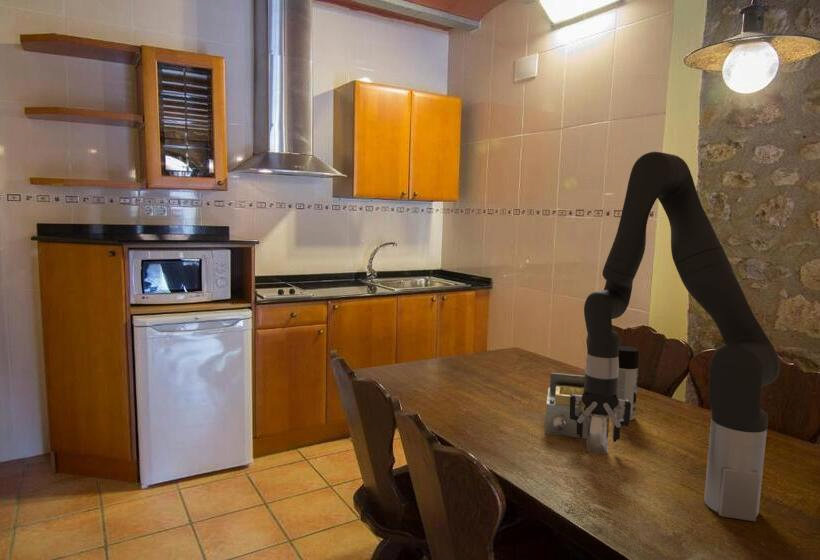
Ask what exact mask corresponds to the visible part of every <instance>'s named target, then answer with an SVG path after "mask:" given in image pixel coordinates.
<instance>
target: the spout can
mask: <svg viewBox="0 0 820 560" xmlns="http://www.w3.org/2000/svg"><path fill="white" fill-rule="evenodd" d="M610 419H611V418H610V416H609V414H608V415H601V414H593V413H590V414H589V415H588V432H587V439H586V451H588V452H589V453H592V454H596V455H606V454H607V453H608V446H609V431H610Z"/></svg>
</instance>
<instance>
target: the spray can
mask: <svg viewBox="0 0 820 560" xmlns="http://www.w3.org/2000/svg"><path fill="white" fill-rule="evenodd" d="M639 359H640V350H639V349H638V348H637V347H634V346H626V345H619V355H618V360H619V373H618V388H617V397H618V399H622V400H625V399H629V400H630V402H631V410H630V421H633V420H635V417H636V409H637V392H638V378H639ZM614 411H615V413H616V415H617V417H618V418H619V419H623V412H624V409H622V408H621V405H620V404H618V405H617V406H616V407H615V408H614Z"/></svg>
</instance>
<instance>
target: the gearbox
mask: <svg viewBox="0 0 820 560" xmlns="http://www.w3.org/2000/svg"><path fill="white" fill-rule="evenodd" d="M584 382H585V375H582V374H581V375H580V374H573V373H572V374H571V373H569V374H568V373H560V372H559V373H558V372H550V382H549V383H550V384H549V385H550V386H549V387H548V389H547V398H546V407H545V408H546V410H545V427H544V429H545V430H544V431H545V432H544V434H545V435H546V434H547V435H552V436H553V435H554V436H561V437H562V436H563V437H571V438H577V439H586V440H587V432H588V416H587V417H586V418H585V419H584V420H583V433H582V438H581V437H579V435H577V433H576V429H577V422H576V421H575V420H572V419H570V394H571V393H575V395H582V394H583V393H584ZM584 406H585V404H584V403H583V401H582V400H580V401H579V403H578V404H575V413H576V414H578V415H579V413H580V412H581V411H582V409H583V408H584Z"/></svg>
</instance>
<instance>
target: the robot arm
mask: <svg viewBox="0 0 820 560" xmlns="http://www.w3.org/2000/svg"><path fill="white" fill-rule="evenodd" d="M657 199H658V201H659V202H660V204H661V207H662V208H663V210H664V213H665V214H666V216H667V220H668V222H669V226H670V251H671V257H672V261H673V263H674V265H675V269H676V271H677V273H678V275H679V278H680V280H681V282H682V283H683V286H684V287H685V289H686V290H687V293H689V294H690V296H691V297H692V298H693V299H694V300H695V302H697V304H699V306H700V307H702V309H703V310H704V311H705V312H706V313H707V314H708V315H709V316H710V317H711V319H712V320H713V322H714V323H715V325H716V326H717V328H718V330H719V333H720V335H721V338H722V340H723V343H724V344H723V345H721V346H719V347H717V349H716V350H715V351H714V352H713V353H712V356H711V360H710V364H709V373H708V404H709V407H710V410H711V417H710V418H711V419H710V429H709V439H708V450H707V451H708V452H707V463H706V471H705V472H706V473H705V485H704V498H703V501H704V504H705V505H706V506H707V507H708V508H709V509H711V510H712V511H713V512H715V513H717V514H718V516H720V517H724V518H730V519H731V518H732V519H737V520H743V521H750V522H757V517H759V515H760V514H759V511H760V502H761V493H762V483H763V474H764V472H763V470H764V463H765V453H766V452H765V451H766V443H767V442H766V441H767V434H768V425H769V416H768V413H767V412H766V411H765V410H763V409H762V407H761V401H762V388H763V387H767V386H769V385H771V384H772V383H774V382H775V381H776V380H777V379H778V377H779V375H780V372H781V361H780V358H779V355H778V353H777V351H776V349H775V347H774V346H773V344H772V343H771V341H770V339H769V337H768V336H767V335H766V332H765V331H764V330H763V327H762V326H761V325H760V323H759V322H758V320H757V318H756V316H755V314H754V313H753V311H752V309H751V306H750V305H749V302H748V300H747V298H746V296H745V293H744V291H743V289H742V287H741V285H740V283H739V281H738V278H737V277H736V274H735V271H734V270H733V267H732V264H731V262H730V260H729V258H728V256H727V253H726V252H725V249H724V247H723V245H722V244H721V242H720V239H719V238H718V236H717V234H716V232H715V229H714V228H713V225H712V223H711V221H710V219H709V218H708V216H707V215H708V214H706V211H705V209H704V208H703V207H704V206H703V205H702V202H701V199H700V197H699V194H698V191H697V187H696V185H695V182H694V179H693V175H692V173H691V170H690V167H689V166H688V163H686V161H685V160H684V159H683V158H681V157H680V156H678V155H675V154H671V153H666V152H662V151H661V152H660V151H655V150H654V151H649V152H645V153H644V154H642V155H641V156H640V157H638V158H637V159H636V161H635V162H634V164H633V165H632V168H631V171H630V174H629V178H628V183H627V188H626V193H625V197H624V201H623V207H622V210H621V215H620V218H619V222H618V228H617V230H616V231H617V232H616V234H615V237H614V239H613V243H612V246H611V248H610V251H609V253H608V255H607V257H606V258H607V259H606V260H605V263H604V266H603V269H602V277H603V278H604V280H605V283H604V289H603V290H599V291H598V290H597V291H594V292H591V293H590V294H589V295H588V296H587V297H586V299H585V302H584V305H583V314H584V317H583V318H584V322H585V327H586V332H587V337H588V338H587V353H586V358H585V365H584V376H585V382H584V393H583V394H582V395H575V393H571V394H570V419H572V420H575V421H576V422H577V429H576V433H577V435H579V437H581V438H580V439H583V438H582V433H583V420H584V419H585V418H586V417H587V416H588V415H589V414H590V413H593V414H601V415H608V414H609V416H610V418H609V419H610V420H611V421H612V422H613V425H612V426H613V427H612V441H613V442H614V443H617V441H620V438H621V429H622V427H629V426H630V421H631V420H630V410H631V402H630V400H629V399H625V400H622V399H618V397H617V388H618V373H619V360H618V355H619V346H620V335H619V333H618V332H617V331H615V330H613V323H612V320H614V319H617V318H620V317H621V316H623V315H624V313H625V312H626V310H627V308H628V306H629V304H630V301H631V295H632V291H633V290H632V289H633V283H634V279H635V278H636V275H637V272H638V270H639V268H640V265H641V264H642V261H643V258H644V255H645V250H646V243H647V226H648V220H649V216H650V213H651V210H652V208H653V206H654V205H655V202H656V201H657ZM580 400H582V401H583V403H584V404H585V406H584V408H583V409H582V411H581V412H580V413H579V415H578V414H576V413H575V404H578V403H579V401H580ZM618 404H620V405H621V408H622V409H624V412H623V419H619V418H618V417H617V415H616V413H615V411H614V408H615V407H616V406H617V405H618Z"/></svg>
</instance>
